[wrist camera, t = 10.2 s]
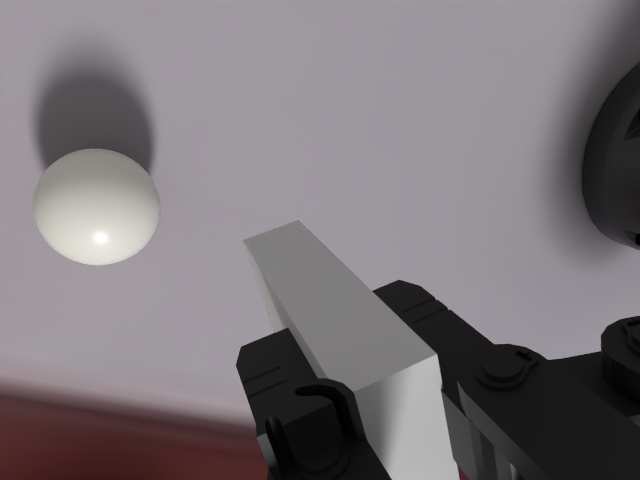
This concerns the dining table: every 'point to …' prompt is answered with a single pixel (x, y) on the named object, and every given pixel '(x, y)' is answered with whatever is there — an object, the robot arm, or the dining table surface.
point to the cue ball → (96, 206)
